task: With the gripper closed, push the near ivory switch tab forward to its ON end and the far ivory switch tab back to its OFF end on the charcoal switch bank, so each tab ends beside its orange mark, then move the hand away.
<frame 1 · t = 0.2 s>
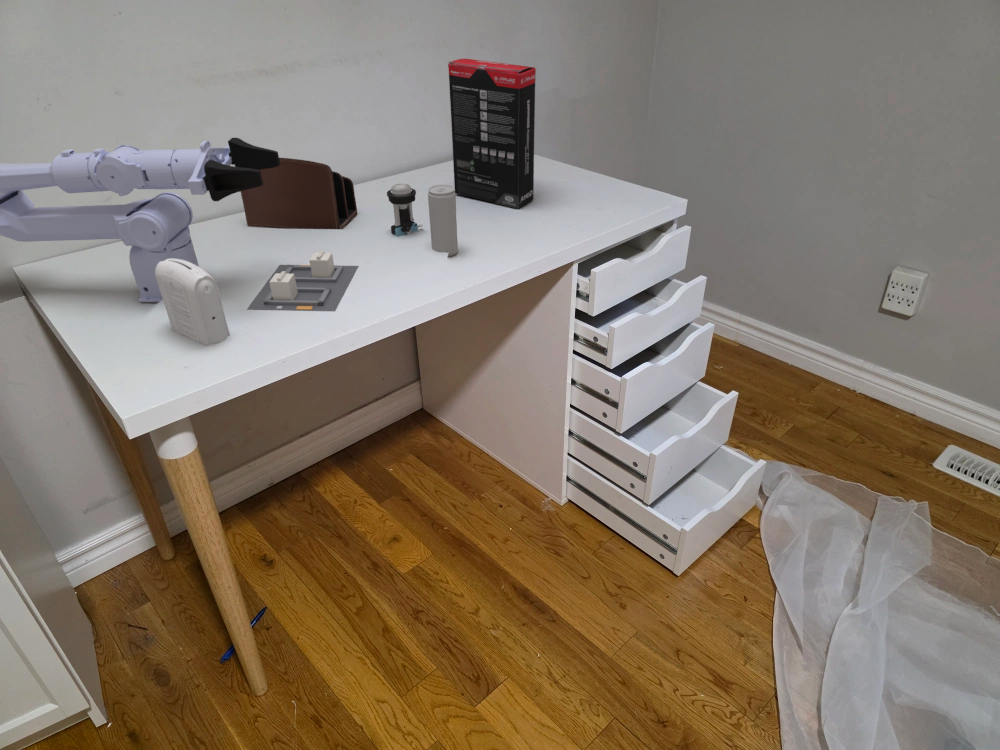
hand: (269, 168, 102), 21 cm above the table, tool horizontal, fingers open, 7 cm apart
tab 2: (322, 264, 116), point 3 cm above the table, slide at 4.0 cm
beverage can: (445, 253, 127), on the table
photo printer: (203, 339, 103), on the table
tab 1: (283, 286, 110), point 3 cm above the table, slide at 0.0 cm
switch bank: (306, 292, 115), on the table
push button: (408, 237, 133), on the table
graphics card box: (493, 199, 150), on the table
letter holder: (303, 221, 141), on the table
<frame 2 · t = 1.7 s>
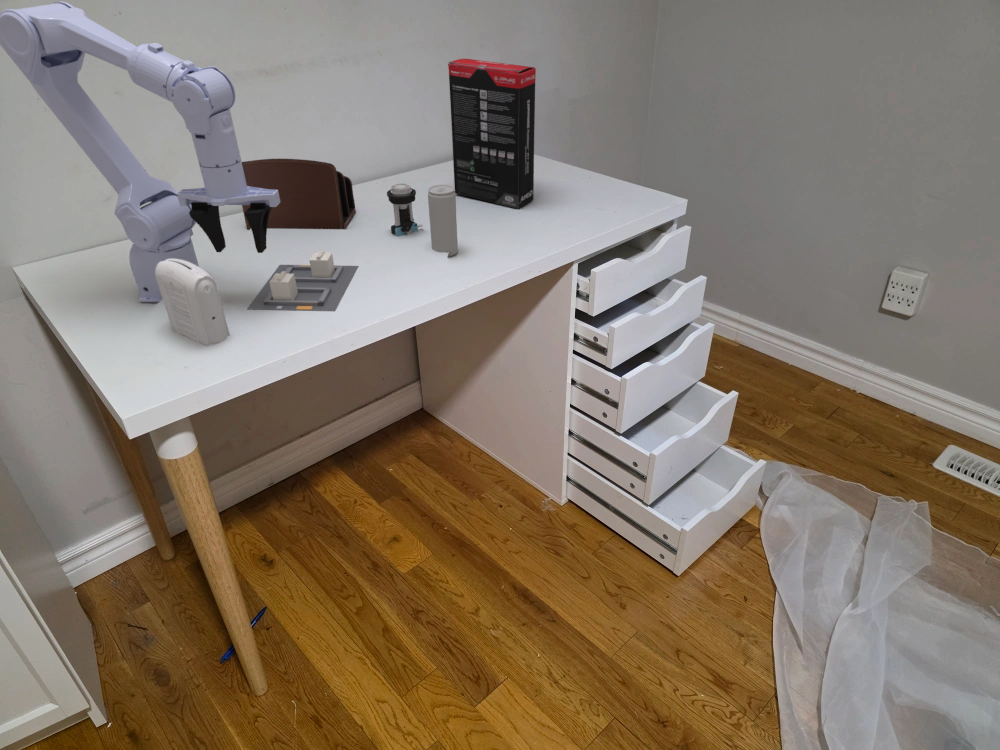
hand: (241, 249, 106), 9 cm above the table, tool pointing down, fingers open, 6 cm apart
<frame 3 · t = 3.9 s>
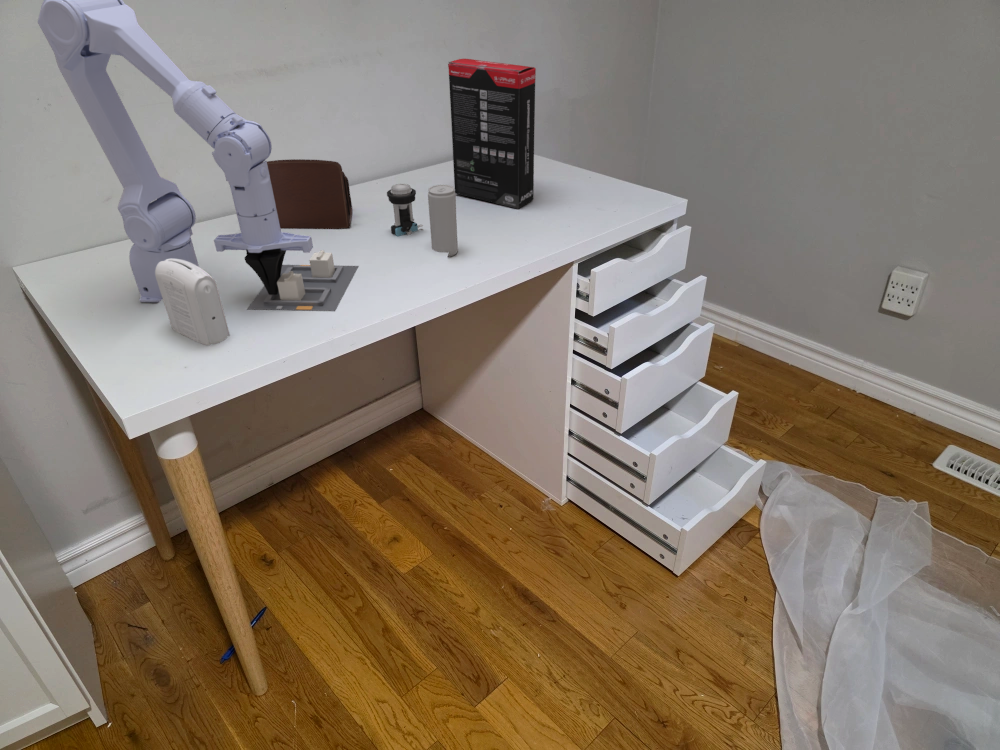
hand: (274, 291, 110), 2 cm above the table, tool pointing down, fingers closed
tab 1: (291, 286, 110), point 3 cm above the table, slide at 1.2 cm, touching gripper
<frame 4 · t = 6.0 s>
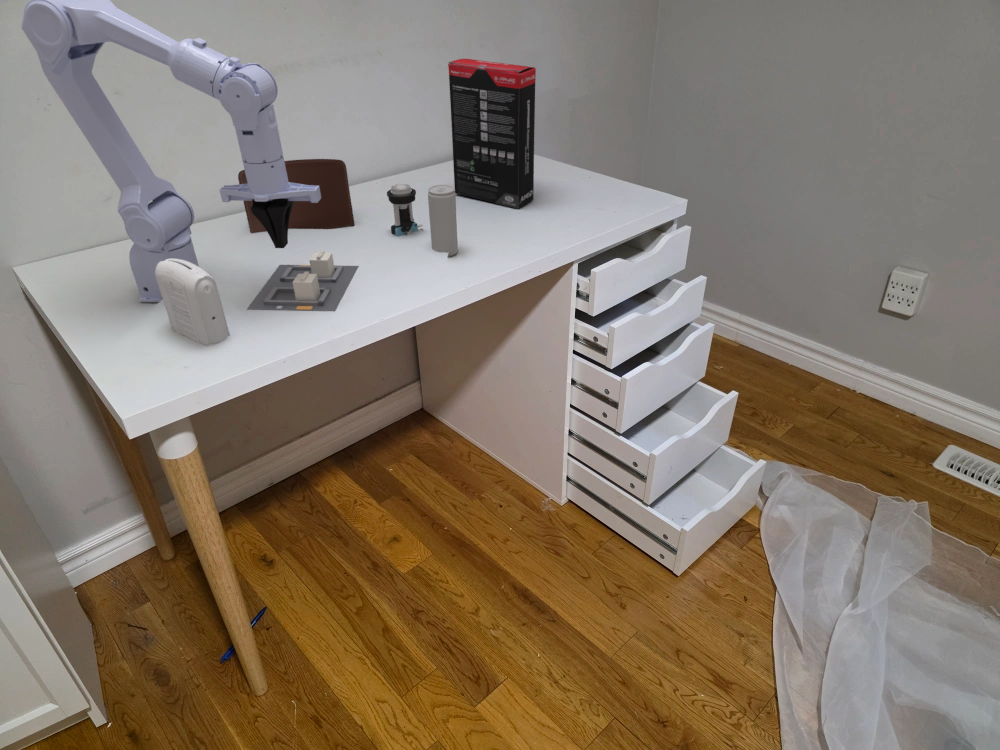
hand: (281, 245, 107), 10 cm above the table, tool pointing down, fingers closed
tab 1: (306, 286, 109), point 3 cm above the table, slide at 3.7 cm
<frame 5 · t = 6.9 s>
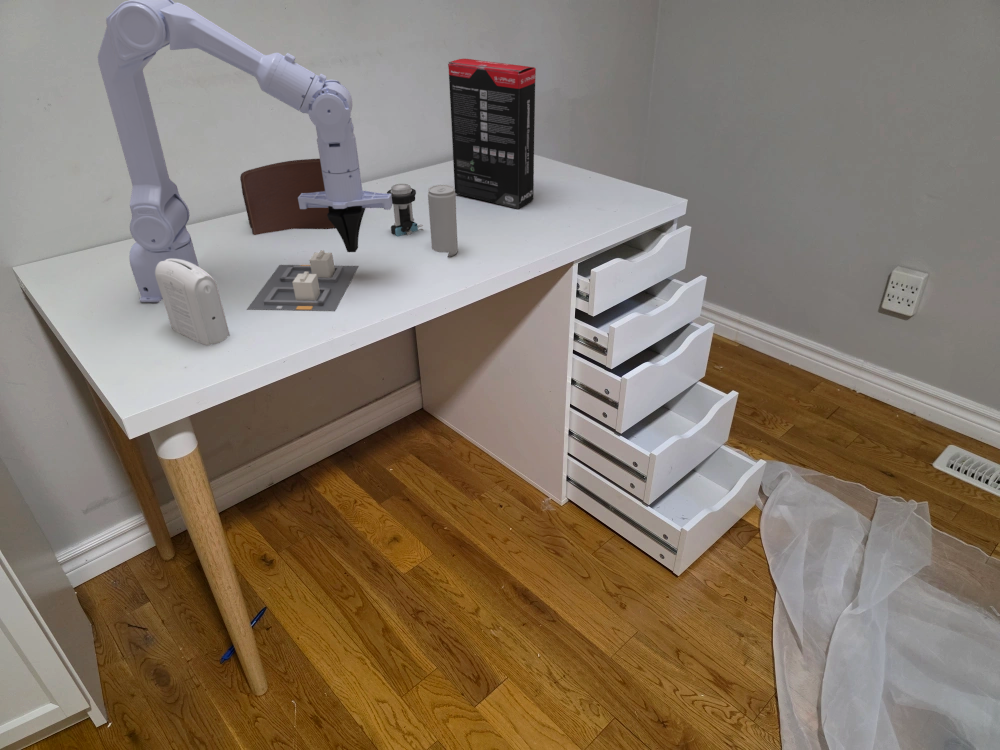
hand: (352, 249, 114), 6 cm above the table, tool pointing down, fingers closed
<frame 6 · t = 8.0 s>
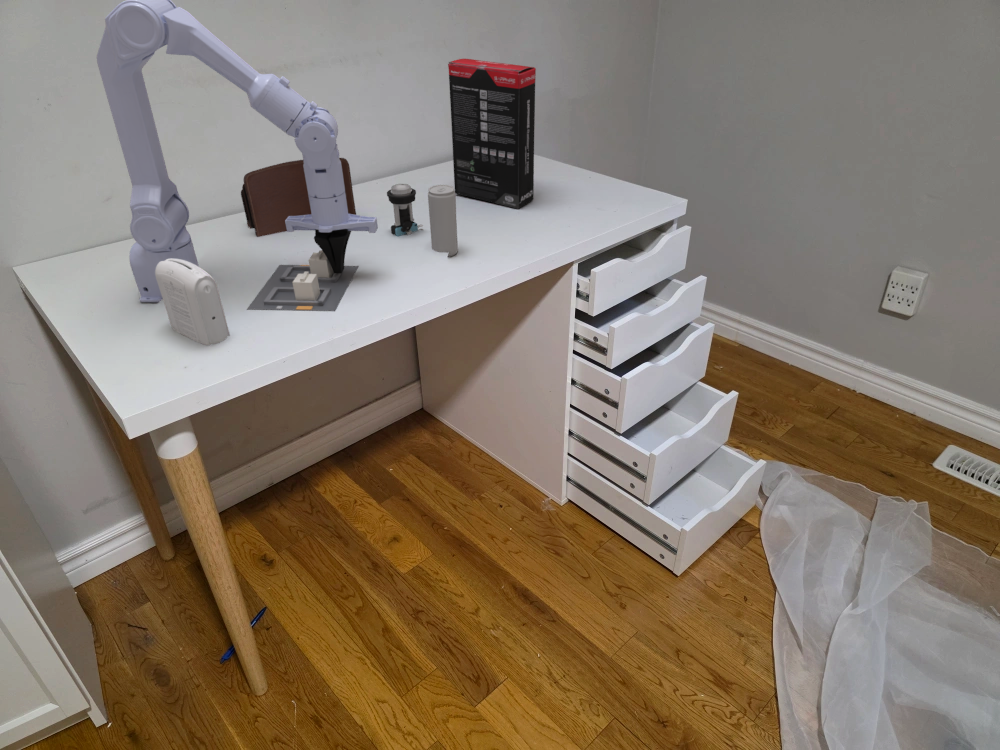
hand: (339, 270, 116), 2 cm above the table, tool pointing down, fingers closed
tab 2: (321, 264, 116), point 3 cm above the table, slide at 3.8 cm, touching gripper
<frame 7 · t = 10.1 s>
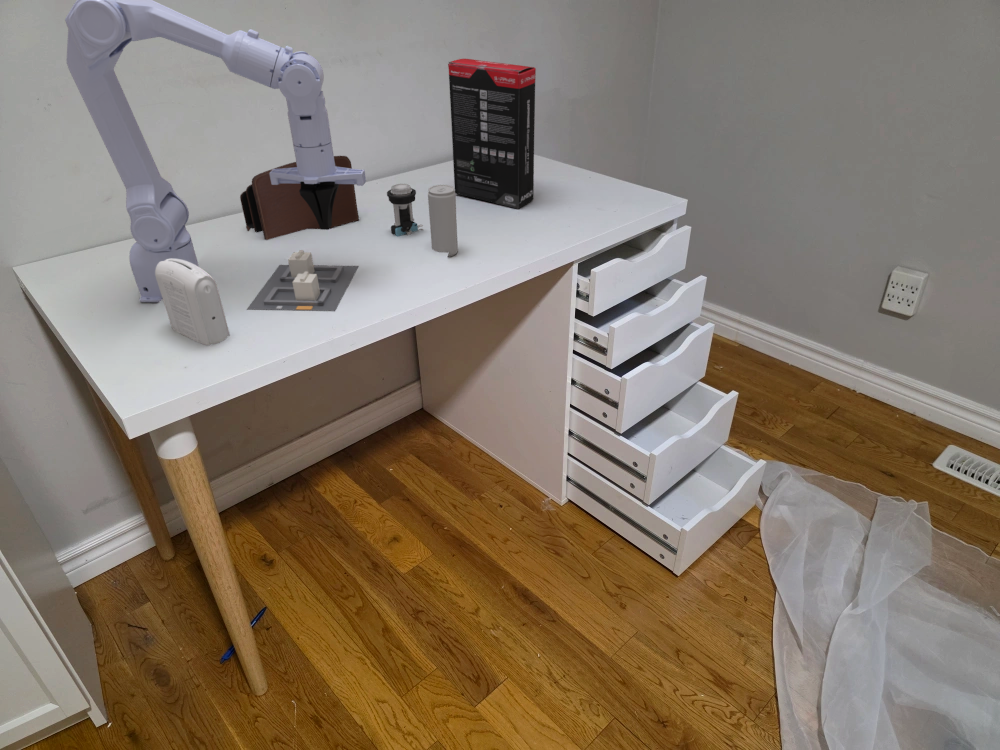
hand: (326, 227, 112), 10 cm above the table, tool pointing down, fingers closed
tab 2: (301, 264, 116), point 3 cm above the table, slide at 0.4 cm
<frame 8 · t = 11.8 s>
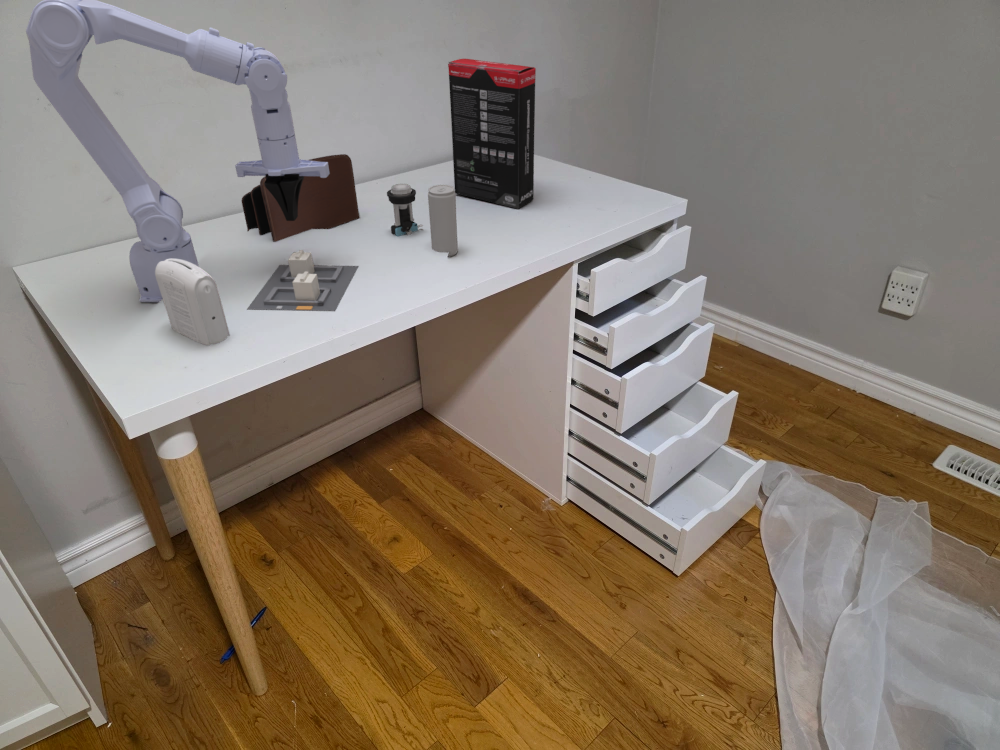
hand: (292, 218, 115), 10 cm above the table, tool pointing down, fingers closed
at the end: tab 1 slide at 3.7 cm; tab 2 slide at 0.4 cm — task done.
